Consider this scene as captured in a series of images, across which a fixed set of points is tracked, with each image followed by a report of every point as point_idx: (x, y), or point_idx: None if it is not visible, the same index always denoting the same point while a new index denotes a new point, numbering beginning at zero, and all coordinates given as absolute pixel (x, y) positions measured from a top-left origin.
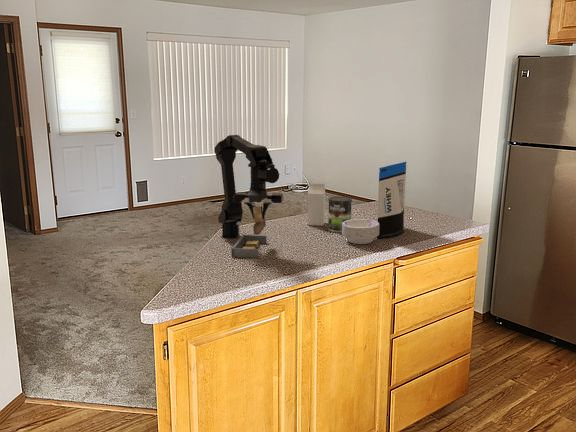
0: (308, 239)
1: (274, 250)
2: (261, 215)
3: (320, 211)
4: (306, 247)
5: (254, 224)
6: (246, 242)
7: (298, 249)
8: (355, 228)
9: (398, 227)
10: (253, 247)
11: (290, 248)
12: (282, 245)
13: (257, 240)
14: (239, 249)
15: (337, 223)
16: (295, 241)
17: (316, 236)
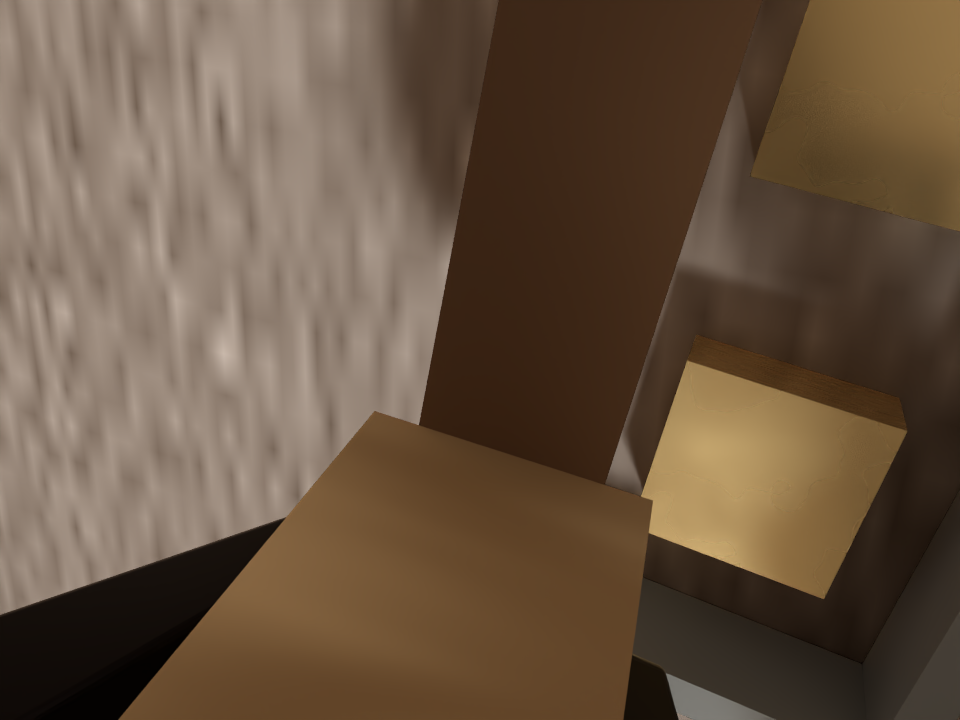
0: (66, 522)
1: (424, 148)
2: (253, 563)
3: None
4: (44, 224)
5: (700, 147)
6: (872, 498)
7: (118, 149)
8: None
9: None
10: (785, 138)
11: (214, 214)
12: (317, 374)
13: (646, 605)
14: None
15: None
16: (181, 494)
17: (14, 592)
